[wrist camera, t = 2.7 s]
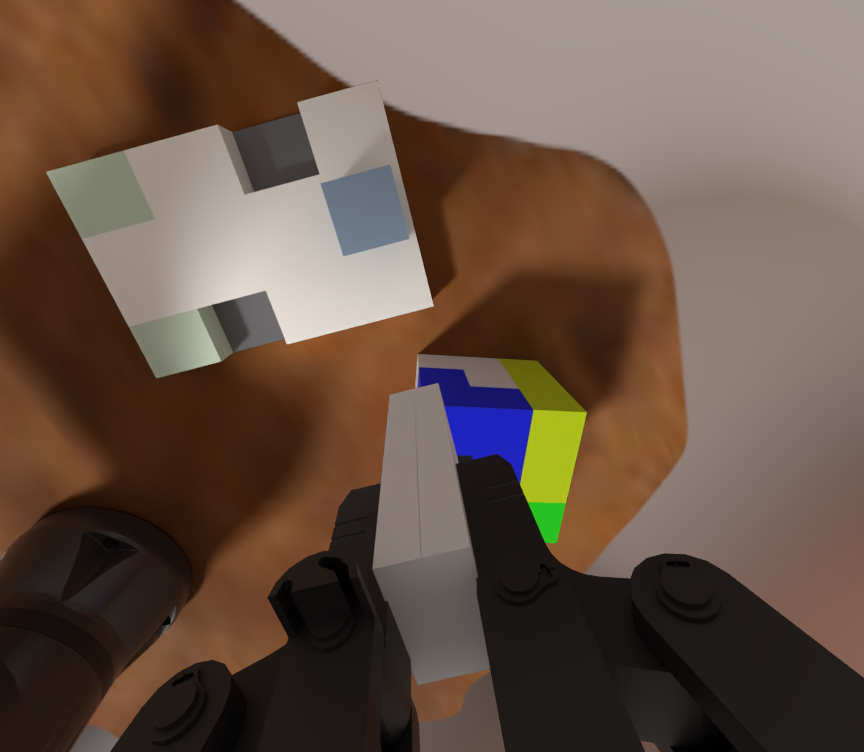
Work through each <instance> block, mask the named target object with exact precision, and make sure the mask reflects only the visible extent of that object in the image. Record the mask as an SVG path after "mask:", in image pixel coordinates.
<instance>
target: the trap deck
mask: <svg viewBox="0 0 864 752" xmlns="http://www.w3.org/2000/svg"><path fill="white" fill-rule="evenodd" d="M297 104H298V107H299V110H300V113H299V114H295V115H292V116H288V117H285V118H281V119H277V120H274V121H270V122H267V123H263V124H259V125H256V126H252V127H248V128H245V129H241V130H238V131H234V132H231V131H229V130H227V129H225V128H223V127H221V126H220V125H218V124H217V125H214V126H210V127H207V128H203V129H199V130H196V131H192V132H189V133H185V134H181V135H178V136H174V137H171V138H167V139H163V140H160V141H156V142H153V143H149V144H145V145H142V146H138V147H135V148H131V149H127V150H124V151H120V152H117V153H113V154H109V155H106V156H102V157H99V158H95V159H91V160H88V161H84V162H81V163H77V164H73V165H70V166H66V167H63V168H59V169H55V170H52V171H48V172H46V173H47V175H48V177H49V179H50V181H51V182H52V184H53V186H54V188H55V190H56V192H57V194H58V196H59V197H60V199H61V201H62V203H63V205H64V207H65V209H66V211H67V212H68V214H69V216H70V218H71V220H72V222H73V224H74V225H75V227H76V229H77V231H78V233H79V235H80V237H81V239H82V240H83V242H84V244H85V246H86V248H87V250H88V252H89V254H90V255H91V257H92V259H93V261H94V263H95V265H96V267H97V268H98V270H99V272H100V274H101V276H102V278H103V280H104V282H105V283H106V285H107V287H108V289H109V291H110V293H111V295H112V296H113V298H114V300H115V302H116V304H117V306H118V308H119V310H120V311H121V313H122V315H123V317H124V319H125V321H126V323H127V325H128V326H129V328H130V330H131V332H132V334H133V336H134V338H135V339H136V341H137V343H138V345H139V347H140V349H141V351H142V353H143V354H144V356H145V358H146V360H147V362H148V364H149V366H150V368H151V369H152V371H153V373H154V375H155V377H156V378H160V377H164V376H168V375H172V374H175V373H179V372H183V371H187V370H191V369H195V368H198V367H202V366H206V365H210V364H214V363H218V362H221V361H223V360H224V359H225V358H227V357H228V356H229V355H231V354H232V353H233V352H237V351H241V350H245V349H249V348H253V347H256V346H260V345H264V344H268V343H272V342H276V341H279V340H283V339H285V341H286V343H287V344H291V343H294V342H298V341H302V340H306V339H310V338H314V337H317V336H321V335H325V334H329V333H333V332H337V331H341V330H344V329H348V328H352V327H356V326H360V325H364V324H367V323H371V322H375V321H379V320H383V319H387V318H390V317H394V316H398V315H402V314H406V313H410V312H413V311H417V310H421V309H425V308H429V307H433V302H432V298H431V294H430V290H429V286H428V282H427V278H426V273H425V269H424V265H423V261H422V257H421V253H420V249H419V245H418V241H417V237H416V233H415V229H414V225H413V221H412V217H411V213H410V209H409V205H408V201H407V197H406V193H405V189H404V185H403V181H402V177H401V173H400V169H399V165H398V161H397V157H396V153H395V149H394V145H393V141H392V137H391V133H390V129H389V125H388V121H387V117H386V113H385V109H384V104H383V100H382V96H381V92H380V89H379V84H378V81H377V80H376V81H372V82H369V83H365V84H362V85H358V86H354V87H351V88H347V89H343V90H340V91H336V92H333V93H329V94H325V95H322V96H318V97H315V98H311V99H307V100H304V101H300V102H297ZM386 165H391V169H392V173H393V177H394V181H395V185H396V188H397V192H398V196H399V200H400V204H401V208H402V212H403V216H404V220H405V224H406V228H407V232H408V236H409V239H407V240H404V241H400V242H396V243H392V244H389V245H385V246H381V247H377V248H374V249H370V250H366V251H362V252H358V253H355V254H351V255H347V256H343V253H342V250H341V247H340V244H339V241H338V238H337V234H336V231H335V228H334V225H333V222H332V219H331V215H330V212H329V209H328V206H327V203H326V200H325V197H324V193H323V190H322V187H321V184H320V183H324V182H328V181H331V180H335V179H339V178H342V177H346V176H350V175H353V174H357V173H361V172H364V171H368V170H372V169H375V168H379V167H383V166H386Z"/></svg>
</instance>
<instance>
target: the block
mask: <svg viewBox="0 0 864 752" xmlns="http://www.w3.org/2000/svg"><path fill="white" fill-rule="evenodd" d="M320 184H321V187H322V190H323V193H324V197H325V200H326V203H327V206H328V209H329V212H330V215H331V219H332V222H333V225H334V228H335V231H336V234H337V238H338V241H339V244H340V247H341V250H342V253H343V256H347V255H351V254H355V253H358V252H362V251H366V250H370V249H374V248H377V247H381V246H385V245H389V244H392V243H396V242H400V241H404V240H407V239H409V236H408V232H407V228H406V224H405V220H404V216H403V212H402V208H401V204H400V200H399V196H398V192H397V188H396V185H395V181H394V177H393V173H392V169H391V165H386V166H383V167H379V168H375V169H372V170H368V171H364V172H361V173H357V174H353V175H350V176H346V177H342V178H339V179H335V180H331V181H328V182H324V183H320Z"/></svg>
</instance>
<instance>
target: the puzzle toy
mask: <svg viewBox="0 0 864 752" xmlns="http://www.w3.org/2000/svg"><path fill="white" fill-rule="evenodd" d="M436 383H438V384H439V388H440V392H441V395H442V399H443V403H444V407H445V411H446V415H447V419H448V423H449V427H450V431H451V434H452V438H453V442H454V446H455V450H456V454H457V458H458V462H459V463H461V462H465V461H469V460H473V459H478V458H482V457H486V456H490V455H494V454H498V455H500V456H501V457H502V458H504V459H505V460H506V461H508V462H509V463H510V464H512V467H513V469H514V471H515V474H516V476H517V478H518V482H519V483H520V485H521V488H522V490H523V493H524V495H525V497H526V499H527V502H528V504H529V506H530V509H531V511H532V513H533V516H534V518H535V520H536V523H537V525H538V527H539V530H540V532H541V534H542V536H543V539H544V541H545V543H557V539H558V534H559V530H560V526H561V521H562V517H563V513H564V508H565V504H566V500H567V496H568V491H569V487H570V483H571V478H572V474H573V470H574V465H575V461H576V457H577V453H578V448H579V444H580V440H581V435H582V431H583V427H584V423H585V418H586V414H587V412H586V411H585V410H584V409H583V408H582V407H581V406H580V405H579V404H578V403H577V402H576V401H575V400H574V398H573V397H572V396H571V395H570V394H569V393H568V392H567V391H566V390H565V389H564V388H563V387H562V386H561V385H560V384H559V383H558V382H557V381H556V380H555V379H554V378H553V377H552V376H551V375H550V374H549V373H548V372H547V370H546V369H545V368H544V367H543V366H542V365H541V364H540V363H539V362H538V361H532V360H515V359H497V358H480V357H462V356H445V355H427V354H418V356H417V370H416V384H415V389H416V388H420V387H424V386H428V385H432V384H436Z"/></svg>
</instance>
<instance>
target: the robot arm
mask: <svg viewBox="0 0 864 752" xmlns="http://www.w3.org/2000/svg"><path fill="white" fill-rule="evenodd" d="M191 586H192V576H191V571H190V567H189V564H188V562H187V560H186V558H185V556H184V554H183V553H182V551H181V550H180V549H179V547H178V546H177V545H176V544H175V543H174V542H173V541H172V540H171V539H170V538H169V537H168V536H167V535H166V534H165V533H163V532H162V531H161V530H159V529H158V528H156V527H155V526H153V525H151V524H149V523H148V522H146V521H144V520H141V519H139V518H137V517H134V516H132V515H129V514H126V513H122V512H118V511H114V510H109V509H102V508H75V509H69V510H64V511H60V512H57V513H54V514H52V515H49V516H47V517H45V518H44V519H42V520H40V521H39V522H37V523H36V524H35V525H34V526H33V527H31V528H30V529H29V530H28V531H26V532H25V533H24V534H23V535H22V536H20V537H19V538H18V539H17V540H16V541H14V543H13V544H12V545H11V546H10V547H9V548H8V549H7V550H6V552H5V553H4V555H3V556H2V558H1V559H0V752H70V751H71V749H72V748H73V746H74V744H75V743H76V741H77V740H78V738H79V736H80V735H81V733H82V732H83V730H84V728H85V727H86V725H87V724H88V722H89V721H90V719H91V717H92V716H93V714H94V713H95V711H96V709H97V708H98V706H99V704H100V703H101V701H102V700H103V698H104V696H105V695H106V693H107V692H108V690H109V688H110V687H111V685H112V684H113V682H114V681H115V680H116V679H117V678H118V677H119V676H120V675H121V674H122V673H123V672H124V671H125V670H126V669H127V668H128V667H129V666H130V665H131V664H132V663H133V662H134V661H136V660H137V659H138V658H139V657H140V656H141V655H142V654H143V653H144V652H145V651H146V650H147V649H148V648H149V647H150V646H151V645H152V644H153V643H154V642H156V640H157V639H158V638H159V637H161V636H162V635H163V634H164V633H165V632H166V631H167V630H168V629H169V628H170V627H171V625H172V624H173V623H174V621H175V620H176V618H177V617H178V615H179V613H180V612H181V610H182V608H183V606H184V605H185V603H186V601H187V599H188V597H189V595H190V591H191ZM268 599H269V601H270V603H271V605H272V607H273V609H274V611H275V613H276V614H277V616H278V618H279V620H280V622H281V624H282V626H283V627H284V629H285V631H286V633H287V635H288V637H289V638H288V641H287V644H285V645H284V646H283V647H281V648H280V649H278V650H277V651H275V652H273V653H272V654H270V655H268V656H267V657H265V658H263V659H261V660H259V661H257V662H255V663H254V664H252V665H250V666H248V667H246V668H244V669H243V670H241V671H239V672H237V673H235V674H233V675H231V673H230V671H229V670H228V668H227V667H226V665H225V664H223V663H220V662H217V661H214V660H210V661H204V662H199V663H195V664H194V665H192V666H190V667H188V668H186V669H184V670H182V671H180V672H178V673H177V674H176V675H174V676H173V677H172V678H171V679H169V680H168V681H167V682H166V683H165V684H163V685H162V686H161V687H160V688H158V690H157V691H156V692H155V693H154V694H153V695H152V697H151V698H150V699H149V700H148V701H147V702H146V704H145V705H144V706H143V707H142V708H141V709H140V711H139V712H138V714H137V715H136V716H135V718H134V719H133V721H132V722H131V723H130V725H129V726H128V728H127V729H126V730H125V732H124V733H123V735H122V736H121V737H120V739H119V740H118V742H117V743H116V744H115V746H114V747H113V748H112V750H111V751H110V752H420V739H419V721H418V716H417V711H416V708H415V705H414V703H413V700H412V698H411V669H412V672H413V674H414V677H415V679H416V682H417V684H418V685H420V684H425V683H429V682H434V681H438V680H443V679H447V678H451V677H456V676H460V675H465V674H469V673H474V672H478V671H483V670H487V669H490V670H491V675H492V681H493V687H494V692H495V697H496V703H497V708H498V714H499V719H500V725H501V730H502V736H503V741H504V746H505V751H506V752H645V751H644V748H643V746H642V744H641V742H640V740H641V741H646V742H651V743H655V745H656V747H657V748H658V750H659V751H660V752H864V678H863V677H862V676H860V675H859V674H858V673H857V672H855V671H854V670H853V669H851V668H850V667H849V666H848V665H846V664H845V663H844V662H842V661H841V660H840V659H838V658H837V657H836V656H835V655H833V654H832V653H831V652H829V651H828V650H827V649H826V648H824V647H823V646H822V645H820V644H819V643H818V642H817V641H815V640H814V639H813V638H811V637H810V636H809V635H807V634H806V633H805V632H803V631H802V630H801V629H800V628H798V627H797V626H796V625H794V624H793V623H792V622H790V621H789V620H788V619H787V618H785V617H784V616H783V615H781V614H780V613H779V612H777V611H776V610H775V609H774V608H772V607H771V606H769V605H768V604H767V603H766V602H764V601H763V600H762V599H761V598H759V597H758V596H757V595H755V594H754V593H753V592H751V591H750V590H749V589H748V588H746V587H745V586H744V585H742V584H741V583H740V582H738V581H737V580H736V579H735V578H733V577H732V576H731V575H729V574H728V573H727V572H725V571H723V570H721V569H720V568H718V567H716V566H715V565H713V564H711V563H709V562H708V561H705V560H702V559H698V558H695V557H692V556H689V555H685V554H661V555H657V556H653V557H649V558H646V559H645V560H644V561H643V562H641V563H640V564H639V565H638V566H637V567H635V568H634V571H633V573H632V576H631V578H630V579H628V578H612V577H598V576H592V575H586V574H583V573H580V572H577V571H574V570H572V569H570V568H568V567H567V566H565V565H563V564H562V563H560V562H559V561H558V560H557V559H556V558H555V557H554V556H553V555H552V554H551V552H550V551H549V549H548V547H547V546H546V543H545V541H544V539H543V536H542V534H541V532H540V530H539V527H538V525H537V523H536V520H535V518H534V516H533V513H532V511H531V509H530V506H529V504H528V502H527V499H526V497H525V495H524V493H523V490H522V488H521V485H520V483H519V482H518V478H517V476H516V474H515V471H514V469H513V467H512V464H510V463H509V462H508V461H506V460H505V459H504V458H502V457H501V456H500V455H498V454H494V455H490V456H486V457H482V458H478V459H473V460H469V461H465V462H461V463H459V462H458V458H457V454H456V450H455V446H454V442H453V438H452V434H451V431H450V427H449V423H448V419H447V415H446V411H445V407H444V403H443V399H442V395H441V392H440V388H439V384H438V383H436V384H432V385H428V386H424V387H420V388H416V389H412V390H407V391H403V392H399V393H395V394H391V395H390V398H389V408H388V418H387V428H386V438H385V448H384V458H383V468H382V478H381V483H380V484H376V485H372V486H368V487H363V488H359V489H355V490H351V491H350V493H349V494H348V495H347V497H346V498H345V500H344V501H343V502H342V504H341V505H340V506H339V510H338V514H337V518H336V522H335V528H334V530H333V535H332V542H331V543H330V547H329V551H322V552H319V553H316V554H314V555H311V556H308V557H306V558H304V559H303V560H301V561H300V562H298V563H297V564H295V565H294V566H292V567H291V568H289V569H288V570H287V571H286V572H285V573H284V575H283V576H282V577H281V578H280V579H279V580H278V581H277V582H276V583H275V585H274V587H273V589H272V591H271V592H270V594H269V596H268Z"/></svg>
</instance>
